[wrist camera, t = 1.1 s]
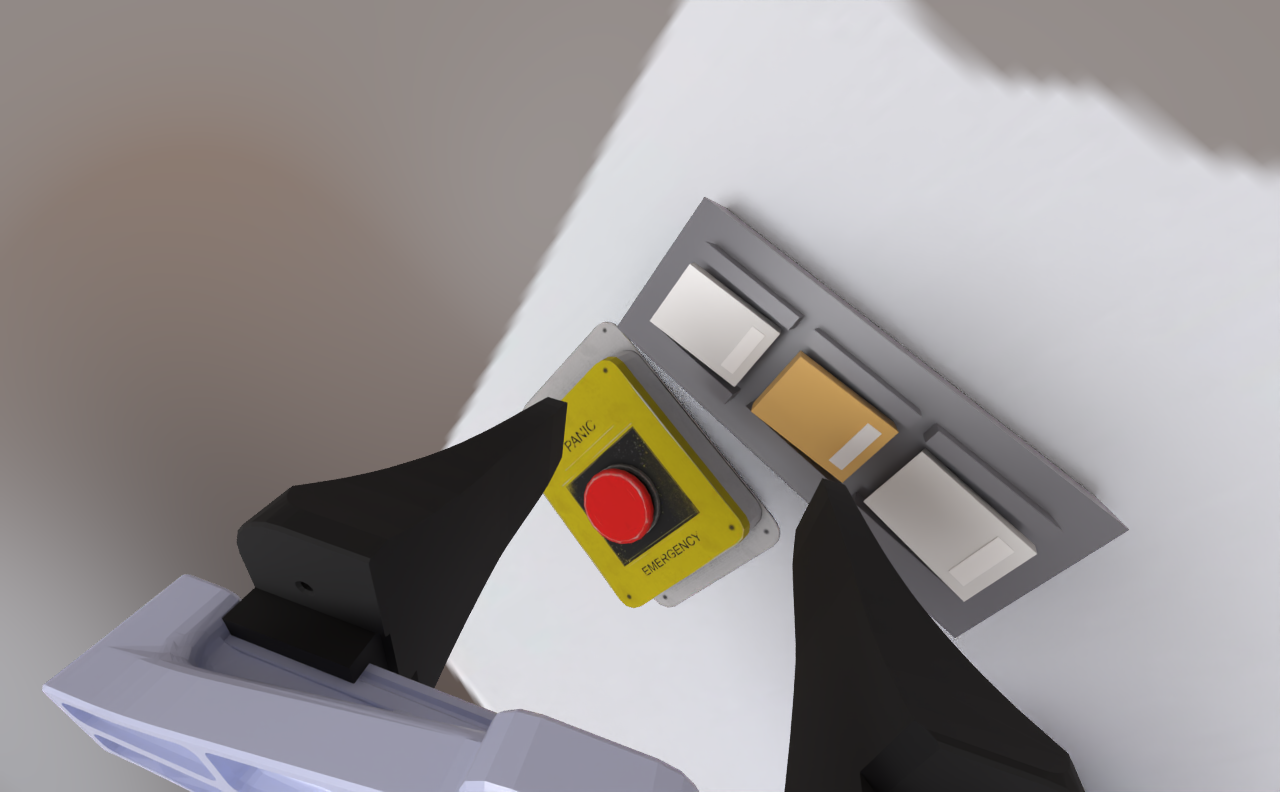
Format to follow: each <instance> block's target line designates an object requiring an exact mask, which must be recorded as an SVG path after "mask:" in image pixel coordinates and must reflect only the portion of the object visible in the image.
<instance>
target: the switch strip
mask: <svg viewBox="0 0 1280 792" xmlns="http://www.w3.org/2000/svg"><path fill="white" fill-rule="evenodd" d="M694 262H695V263H696V264H698V265H699V266H700V267H701V268H703V269H704V270H705V271H707V272H708V273H709V274H711V275H712V276H713V277H714V278H716V279H717V280H718V281H720V282H721V283H722V284H724V285H725V286H726V287H727V288H729V289H730V290H731V291H733V292H734V293H735V294H737V295H738V296H739V297H740V298H742V299H743V300H744V301H746V302H747V303H748V304H750V305H751V306H752V307H753V308H755V309H756V310H757V311H759V312H760V313H761V314H762V315H764V316H765V317H766V318H768V319H769V320H770V321H772V322H773V323H774V324H775V325H777V326H778V327H779V328H781V332H780V335H779V336H778V337H777V338H776V339H775V340H774V342H773V343H772V344H771V345H770V346H769V347H768V349H767V350H766V351H765V352H764V353H763V354H762V356H761V357H760V358H759V359H758V360H757V361H756V362H755V364H754V365H753V366H752V367H751V368H750V369H749V371H748V372H747V373H746V374H745V375H744V376H743V378H742V379H741V380H740V381H739V382H738V383H737V385H736V386H735V387H734V386H732V385H731V384H730V383H729V382H727V381H726V380H725V379H723V378H722V377H721V376H720V375H718V374H717V373H716V372H715V371H713V370H712V369H711V368H709V367H708V366H707V365H706V364H704V363H703V362H702V361H700V360H699V359H698V358H697V357H695V356H694V355H693V354H691V353H690V352H689V351H688V350H686V349H685V348H684V347H682V346H681V345H680V344H679V343H677V342H676V341H675V340H673V339H672V338H671V337H670V336H668V335H667V334H666V333H664V332H663V331H662V330H661V329H659V328H658V327H657V326H656V325H654V324H653V323H652V322H650V320H651V318H652V317H653V315H654V314H655V313H656V311H657V310H658V308H659V307H660V306H661V304H662V303H663V301H664V300H665V298H666V297H667V296H668V294H669V293H670V291H671V290H672V288H673V287H674V286H675V284H676V283H677V281H678V280H679V279H680V277H681V276H682V274H683V273H684V271H685V270H686V269H687V267H688V266H689V264H691V263H694ZM617 328H618V329H619V330H620V331H621V332H622V333H623V334H624V335H625V336H627V337H628V338H629V339H630V340H631V341H632V342H633V343H634V344H635V345H636V346H637V347H639V348H640V349H641V350H642V351H643V352H644V353H645V354H646V355H647V356H648V357H649V358H651V359H652V360H653V361H654V362H655V363H656V364H657V365H658V366H659V367H660V368H661V369H663V370H664V371H665V372H666V373H667V374H668V375H669V376H670V377H671V378H672V379H673V380H675V381H676V382H677V383H678V384H679V385H680V386H681V387H682V388H683V389H684V390H685V391H686V392H688V393H689V394H690V395H691V396H692V397H693V398H694V399H695V400H696V401H697V402H698V403H700V404H701V405H702V406H703V407H704V408H705V409H706V410H707V411H708V412H709V413H710V414H712V415H713V416H714V417H715V418H716V419H717V420H718V421H719V422H720V423H721V424H722V425H724V426H725V427H726V428H727V429H728V430H729V431H730V432H731V433H732V434H733V435H734V436H736V437H737V438H738V439H739V440H740V441H741V442H742V443H743V444H744V445H745V446H746V447H747V448H749V449H750V450H751V451H752V452H753V453H754V454H755V455H756V456H757V457H758V458H759V459H761V460H762V461H763V462H764V463H765V464H766V465H767V466H768V467H769V468H770V469H771V470H773V471H774V472H775V473H776V474H777V475H778V476H779V477H780V478H781V479H782V480H783V481H785V482H786V483H787V484H788V485H789V486H790V487H791V488H792V489H793V490H794V491H795V492H797V493H798V494H799V495H800V496H801V497H802V498H803V499H804V500H805V501H806V502H807V503H808V504H809V503H810V501H811V499H812V497H813V495H814V493H815V491H816V489H817V487H818V485H819V483H820V481H821V479H822V478H824V479H827V480H830V481H834V482H837V483H840V484H844V485H846V487H847V489H848V490H849V492H850V494H851V496H852V498H853V499H854V501H855V503H856V505H857V507H858V508H859V510H860V512H861V514H862V516H863V517H864V519H865V521H866V523H867V525H868V526H869V528H870V530H871V531H872V533H873V535H874V536H875V538H876V540H877V541H878V543H879V545H880V546H881V548H882V550H883V551H884V553H885V554H886V556H887V558H888V559H889V561H890V562H891V564H892V565H893V567H894V568H895V570H896V571H897V573H898V574H899V576H900V577H901V578H902V580H903V581H904V583H905V584H906V586H907V587H908V588H909V590H910V591H911V593H912V594H913V595H914V597H915V598H916V599H917V600H918V602H919V603H920V604H921V606H922V607H923V608H924V609H925V611H926V612H927V613H928V614H929V615H930V616H932V617H933V618H934V619H935V620H936V621H937V622H938V623H939V624H940V625H941V626H942V627H944V628H945V629H946V630H947V631H948V632H949V633H950V634H951V635H952V636H953V637H954V638H956V637H958V636H959V635H961V634H962V633H964V632H966V631H967V630H969V629H970V628H972V627H974V626H975V625H977V624H978V623H980V622H982V621H983V620H985V619H986V618H988V617H990V616H991V615H993V614H995V613H996V612H998V611H999V610H1001V609H1003V608H1004V607H1006V606H1007V605H1009V604H1011V603H1012V602H1014V601H1015V600H1017V599H1019V598H1020V597H1022V596H1023V595H1025V594H1027V593H1028V592H1030V591H1032V590H1033V589H1035V588H1036V587H1038V586H1040V585H1041V584H1043V583H1044V582H1046V581H1048V580H1049V579H1051V578H1052V577H1054V576H1056V575H1057V574H1059V573H1060V572H1062V571H1064V570H1065V569H1067V568H1068V567H1070V566H1072V565H1073V564H1075V563H1077V562H1078V561H1080V560H1081V559H1083V558H1085V557H1086V556H1088V555H1089V554H1091V553H1093V552H1094V551H1096V550H1097V549H1099V548H1101V547H1102V546H1104V545H1105V544H1107V543H1109V542H1110V541H1112V540H1113V539H1115V538H1117V537H1118V536H1120V535H1122V534H1123V533H1125V532H1126V531H1128V530H1129V529H1128V528H1127V527H1126V526H1125V525H1124V524H1123V523H1122V522H1121V521H1120V520H1119V519H1118V518H1117V517H1116V516H1115V515H1114V514H1113V513H1112V512H1111V511H1110V510H1109V509H1108V508H1107V507H1106V506H1105V505H1104V504H1103V503H1102V502H1101V501H1100V500H1099V499H1098V498H1097V497H1095V496H1094V495H1093V494H1092V493H1090V492H1089V491H1088V490H1086V489H1085V488H1084V487H1083V486H1081V485H1080V484H1079V483H1078V482H1076V481H1075V480H1074V479H1072V478H1071V477H1070V476H1069V475H1067V474H1066V473H1065V472H1063V471H1062V470H1061V469H1060V468H1058V467H1057V466H1056V465H1054V464H1053V463H1052V462H1051V461H1049V460H1048V459H1047V458H1046V457H1044V456H1043V455H1042V454H1040V453H1039V452H1038V451H1037V450H1035V449H1034V448H1033V447H1031V446H1030V445H1029V444H1028V443H1026V442H1025V441H1024V440H1022V439H1021V438H1020V437H1019V436H1017V435H1016V434H1015V433H1013V432H1012V431H1011V430H1010V429H1008V428H1007V427H1006V426H1005V425H1003V424H1002V423H1001V422H999V421H998V420H997V419H996V418H994V417H993V416H992V415H990V414H989V413H988V412H987V411H985V410H984V409H983V408H981V407H980V406H979V405H978V404H976V403H975V402H974V401H973V400H971V399H970V398H969V397H967V396H966V395H965V394H964V393H962V392H961V391H960V390H958V389H957V388H956V387H955V386H953V385H952V384H951V383H949V382H948V381H947V380H946V379H944V378H943V377H942V376H941V375H939V374H938V373H937V372H935V371H934V370H933V369H932V368H930V367H929V366H928V365H926V364H925V363H924V362H923V361H921V360H920V359H919V358H917V357H916V356H915V355H914V354H912V353H911V352H910V351H909V350H907V349H906V348H905V347H903V346H902V345H901V344H900V343H898V342H897V341H896V340H894V339H893V338H892V337H891V336H889V335H888V334H887V333H885V332H884V331H883V330H882V329H880V328H879V327H878V326H876V325H875V324H874V323H873V322H871V321H870V320H869V319H868V318H866V317H865V316H864V315H862V314H861V313H860V312H859V311H857V310H856V309H855V308H853V307H852V306H851V305H850V304H848V303H847V302H846V301H844V300H843V299H842V298H841V297H839V296H838V295H837V294H836V293H834V292H833V291H832V290H830V289H829V288H828V287H827V286H825V285H824V284H823V283H821V282H820V281H819V280H818V279H816V278H815V277H814V276H812V275H811V274H810V273H809V272H807V271H806V270H805V269H804V268H802V267H801V266H800V265H798V264H797V263H796V262H795V261H793V260H792V259H791V258H789V257H788V256H787V255H786V254H784V253H783V252H782V251H780V250H779V249H778V248H777V247H775V246H774V245H773V244H772V243H770V242H769V241H768V240H766V239H765V238H764V237H763V236H761V235H760V234H759V233H757V232H756V231H755V230H754V229H752V228H751V227H750V226H748V225H747V224H746V223H745V222H743V221H742V220H741V219H739V218H738V217H737V216H736V215H734V214H733V213H732V212H731V211H729V210H728V209H727V208H725V207H723V206H721V205H719V204H718V203H716V202H714V201H712V200H710V199H708V198H706V197H704V199H703V200H702V202H701V203H700V205H699V206H698V208H697V209H696V210H695V212H694V213H693V215H692V216H691V218H690V219H689V221H688V222H687V224H686V225H685V227H684V228H683V230H682V231H681V233H680V234H679V236H678V237H677V239H676V240H675V242H674V243H673V245H672V246H671V248H670V249H669V251H668V252H667V254H666V255H665V257H664V258H663V259H662V261H661V262H660V264H659V265H658V267H657V268H656V270H655V271H654V273H653V274H652V276H651V277H650V279H649V280H648V282H647V283H646V285H645V286H644V288H643V289H642V291H641V292H640V294H639V295H638V297H637V298H636V300H635V301H634V303H633V304H632V306H631V307H630V308H629V310H628V311H627V313H626V314H625V316H624V317H623V319H622V320H621V322H620V323H619V325H618V326H617ZM800 351H802V352H803V353H805V354H806V355H807V356H809V357H810V358H811V359H812V360H814V361H815V362H816V363H818V364H819V365H820V366H822V367H823V368H824V369H825V370H827V371H828V372H829V373H831V374H832V375H833V376H835V377H836V378H837V379H838V380H840V381H841V382H842V383H844V384H845V385H846V386H848V387H849V388H850V389H851V390H853V391H854V392H855V393H857V394H858V395H859V396H861V397H862V398H863V399H864V400H866V401H867V402H868V403H870V404H871V405H872V406H874V407H875V408H876V409H877V410H879V411H880V412H881V413H883V414H884V415H885V416H886V417H888V418H889V419H890V420H892V421H893V422H894V423H895V425H896V428H897V430H898V432H899V433H898V434H896V435H895V436H894V437H893V438H892V439H891V440H890V441H889V442H887V443H886V444H885V445H884V446H883V447H882V448H881V449H880V450H879V451H877V452H876V453H875V454H874V455H873V456H872V457H871V458H870V459H868V460H867V461H866V462H865V463H864V464H863V465H862V466H861V467H859V468H858V469H857V470H856V471H855V472H854V473H853V474H852V475H851V476H849V477H848V478H847V479H846V480H845V481H844V482H843V483H842V482H841V481H839V480H838V479H837V478H835V477H834V476H833V475H832V474H830V473H829V472H828V471H827V470H825V469H824V468H823V467H821V466H820V465H819V464H818V463H816V462H815V461H814V460H812V459H811V458H810V457H809V456H807V455H806V454H805V453H803V452H802V451H801V450H800V449H798V448H797V447H796V446H794V445H793V444H792V443H791V442H789V441H788V440H787V439H786V438H784V437H783V436H782V435H780V434H779V433H778V432H777V431H775V430H774V429H773V428H771V427H770V426H769V425H768V424H766V423H765V422H764V421H762V420H761V419H760V418H759V417H757V416H756V415H755V414H754V413H752V412H751V409H752V405H753V403H754V402H755V400H756V399H757V398H758V397H759V396H760V395H761V394H762V393H763V392H764V390H765V389H766V388H767V387H768V386H769V385H770V384H771V383H772V382H773V380H774V379H775V378H776V377H777V376H778V375H779V374H780V373H781V372H782V370H783V369H784V368H785V367H786V366H787V365H788V364H789V363H790V362H791V360H792V359H793V358H794V357H795V356H796V355H797V354H798V353H799V352H800ZM925 448H926V449H927V450H928V451H929V452H930V453H931V454H932V455H934V456H935V457H936V458H937V459H938V460H939V461H940V462H941V463H943V464H944V465H945V466H946V467H947V468H948V469H949V470H951V471H952V472H953V473H954V474H955V475H956V476H957V477H958V478H960V479H961V480H962V481H963V482H964V483H965V484H966V485H968V486H969V487H970V488H971V489H972V490H973V491H974V492H975V493H977V494H978V495H979V496H980V497H981V498H982V499H983V500H984V501H986V502H987V503H988V504H989V505H990V506H991V507H992V508H994V509H995V510H996V511H997V512H998V513H999V514H1000V515H1001V516H1003V517H1004V518H1005V519H1006V520H1007V521H1008V522H1009V523H1011V524H1012V525H1013V526H1014V527H1015V528H1016V529H1017V530H1018V531H1020V532H1021V533H1022V534H1023V535H1024V536H1025V537H1026V538H1027V539H1029V540H1030V541H1031V542H1032V543H1033V544H1034V545H1035V547H1036V551H1037V554H1036V555H1035V556H1033V557H1032V558H1030V559H1029V560H1027V561H1026V562H1024V563H1023V564H1021V565H1020V566H1018V567H1017V568H1015V569H1014V570H1012V571H1010V572H1009V573H1007V574H1006V575H1004V576H1003V577H1001V578H1000V579H998V580H997V581H995V582H994V583H992V584H991V585H989V586H988V587H986V588H985V589H983V590H981V591H980V592H978V593H977V594H975V595H974V596H972V597H971V598H969V599H968V600H966V601H965V602H964V601H963V600H962V599H961V598H960V597H959V596H958V595H957V594H956V593H955V592H954V591H953V590H952V589H951V588H950V587H949V586H948V585H946V584H945V583H944V582H943V581H942V580H941V579H940V578H939V577H938V576H937V575H936V574H935V573H934V572H933V571H932V570H931V569H930V568H929V567H928V566H927V565H926V564H925V563H924V562H923V561H922V560H921V559H920V558H919V557H918V556H917V555H916V554H915V553H914V552H913V551H912V550H911V549H910V548H909V547H908V546H907V545H906V544H905V543H904V542H903V541H902V540H901V539H900V538H899V537H898V536H897V535H896V534H895V533H894V532H893V531H892V530H891V529H890V528H889V527H888V526H887V525H886V524H885V523H884V522H883V521H882V520H881V519H880V518H879V517H878V516H877V515H876V514H875V513H874V512H873V511H872V510H871V509H870V508H869V507H868V506H867V505H866V504H865V503H864V502H863V501H864V500H865V499H866V498H867V497H869V496H870V495H871V494H872V493H873V492H874V491H876V490H877V489H878V488H879V487H880V486H881V485H883V484H884V483H885V482H886V481H887V480H888V479H890V478H891V477H892V476H893V475H894V474H896V473H897V472H898V471H899V470H900V469H901V468H903V467H904V466H905V465H906V464H907V463H908V462H910V461H911V460H912V459H913V458H914V457H916V456H917V455H918V454H919V453H920V452H921V451H923V450H924V449H925Z"/></svg>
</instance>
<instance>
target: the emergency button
mask: <svg viewBox="0 0 1280 792" xmlns="http://www.w3.org/2000/svg"><path fill="white" fill-rule="evenodd" d="M546 397H550V398H554V399H557V400H561V401H564V402H567V403H568V404H567V414H566V424H565V434H564V444H563V454H562V458H561V460H560V463H559V465H558V467H557V469H556V471H555V473H554V475H553V477H552V479H551V481H550V482H549V484H548V486H547V488H546V489H545V491H544V492H543V494H544V496H545V497H546V499H547V500H548V501H549V503H550V504H551V505H552V507H553V508H554V510H555V511H556V512H557V514H558V515H559V516H560V518H561V519H562V521H563V522H564V523H565V525H566V526H567V527H568V529H569V530H570V532H571V533H572V534H573V536H574V537H575V538H576V540H577V541H578V543H579V544H580V545H581V547H582V548H583V549H584V551H585V552H586V554H587V555H588V556H589V558H590V559H591V560H592V562H593V563H594V565H595V566H596V567H597V569H598V570H599V571H600V573H601V574H602V576H603V577H604V578H605V580H606V581H607V582H608V584H609V585H610V587H611V588H612V589H613V591H614V592H615V593H616V595H617V596H618V598H619V599H620V600H621V601H622V602H623V603H624V604H625V605H626V606H628V607H632V608H636V607H640V606H642V605H644V604H645V603H647V602H648V601H650V600H651V599H653V598H654V599H655V600H656V601H657V602H658V603H659V604H660V605H663V606H665V607H674V606H676V605H678V604H680V603H681V602H683V601H684V600H686V599H688V598H689V597H691V596H693V595H694V594H696V593H698V592H699V591H701V590H702V589H704V588H706V587H707V586H709V585H711V584H712V583H714V582H716V581H717V580H719V579H721V578H722V577H724V576H725V575H727V574H729V573H730V572H732V571H734V570H735V569H737V568H739V567H740V566H742V565H744V564H745V563H747V562H748V561H750V560H752V559H753V558H755V557H757V556H758V555H760V554H762V553H763V552H765V551H766V550H768V549H770V548H771V547H773V546H774V545H775V544H776V542H777V541H778V540H779V527H778V525H777V523H776V521H775V519H774V518H773V516H772V515H771V514H770V513H769V511H768V510H767V509H766V508H765V507H764V505H763V504H762V503H761V502H760V500H759V499H758V498H757V497H756V495H755V494H754V493H753V492H752V490H751V489H750V488H749V487H748V486H747V484H746V483H745V482H744V481H743V479H742V478H741V477H740V476H739V474H738V473H737V472H736V471H735V469H734V468H733V467H732V466H731V465H730V463H729V462H728V461H727V460H726V458H725V457H724V456H723V455H722V453H721V452H720V451H719V450H718V448H717V447H716V446H715V445H714V444H713V442H712V441H711V440H710V439H709V437H708V436H707V435H706V434H705V432H704V431H703V430H702V429H701V427H700V426H699V425H698V424H697V423H696V421H695V420H694V419H693V418H692V416H691V415H690V414H689V413H688V411H687V410H686V409H685V408H684V407H683V405H682V404H681V403H680V402H679V400H678V399H677V398H676V397H675V395H674V394H673V393H672V392H671V390H670V389H669V388H668V387H667V386H666V384H665V383H664V382H663V381H662V379H661V378H660V377H659V376H658V374H657V373H656V372H655V371H654V369H653V368H652V367H651V366H650V365H649V363H648V362H647V361H646V360H645V358H644V357H643V356H642V355H641V353H640V352H639V351H638V350H637V348H636V347H635V346H634V345H633V344H632V342H631V341H630V340H629V339H628V337H627V336H625V335H624V334H623V333H622V332H621V331H620V330H619V329H618V328H617V326H616V325H615V324H614V323H609V322H603V323H601V324H599V325H598V326H596V327H595V328H594V329H593V331H592V332H591V333H590V334H589V335H588V336H587V337H586V338H585V339H584V341H583V342H582V343H581V344H580V345H579V346H578V347H577V348H576V349H575V351H574V352H573V353H572V354H571V355H570V356H569V357H568V358H567V359H566V361H565V362H564V363H563V364H562V365H561V366H560V367H559V368H558V369H557V371H556V372H555V373H554V374H553V375H552V376H551V377H550V378H549V379H548V381H547V382H546V383H545V384H544V385H543V386H542V387H541V388H540V389H539V391H538V392H537V393H536V394H535V395H534V396H533V397H532V398H531V399H530V401H529V402H528V403H527V404H526V405H525V407H524V409H523V410H525V409H527V408H528V407H530V406H532V405H534V404H535V403H537V402H539V401H541V400H543V399H545V398H546Z"/></svg>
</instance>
